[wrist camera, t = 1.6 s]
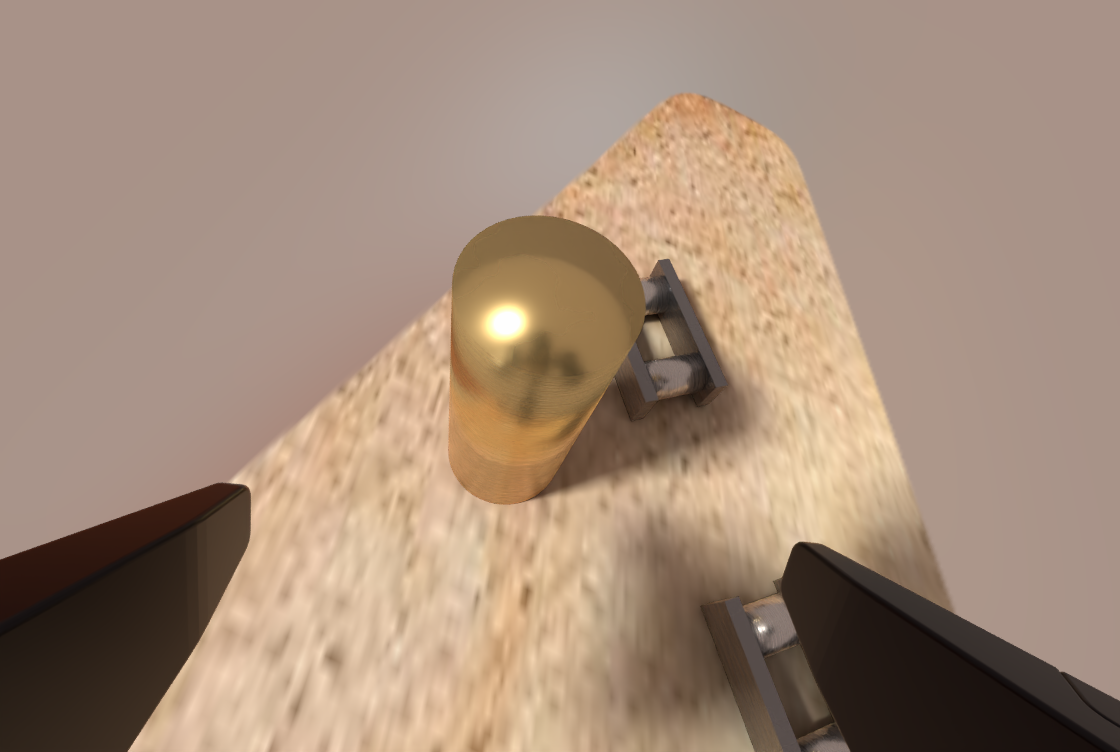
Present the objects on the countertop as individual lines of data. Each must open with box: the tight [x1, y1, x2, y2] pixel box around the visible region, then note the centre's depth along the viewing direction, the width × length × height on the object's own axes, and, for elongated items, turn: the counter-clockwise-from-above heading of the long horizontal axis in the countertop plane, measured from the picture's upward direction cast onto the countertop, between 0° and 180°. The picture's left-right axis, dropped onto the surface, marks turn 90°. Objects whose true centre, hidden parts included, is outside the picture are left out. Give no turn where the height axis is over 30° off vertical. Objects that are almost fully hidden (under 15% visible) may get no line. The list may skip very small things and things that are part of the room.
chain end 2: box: [701, 578, 850, 752], centre depth 19 cm, size 7×4×2 cm, turn 16°
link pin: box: [448, 216, 646, 504], centre depth 17 cm, size 5×5×11 cm
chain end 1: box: [615, 259, 728, 421], centre depth 25 cm, size 7×4×2 cm, turn 16°
